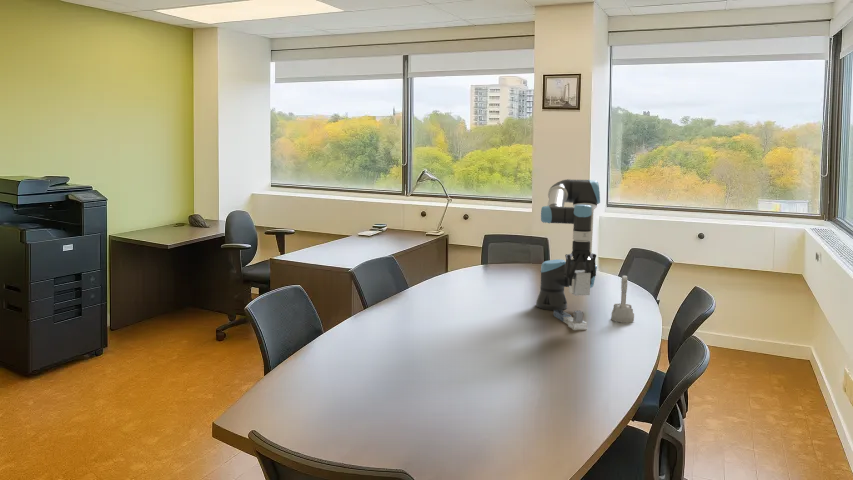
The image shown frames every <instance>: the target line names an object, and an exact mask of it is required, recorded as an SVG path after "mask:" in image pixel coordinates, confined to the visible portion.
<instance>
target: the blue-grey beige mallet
mask: <svg viewBox="0 0 853 480" xmlns="http://www.w3.org/2000/svg"><path fill="white" fill-rule="evenodd" d="M572 314H573V316H572V315H571V314H570V313H568V312H566V311H564V309H563V310H553V317H555V318H556V319H558V320H559V321H560V322H563V323H565V324H566V325H567V327H568V328H569V329H571V330H573V331H583V330H587V329H588V322H587V321H585V320H584V319H583V317H584V311H582V310H573V313H572Z"/></svg>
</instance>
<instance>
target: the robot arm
mask: <svg viewBox="0 0 853 480" xmlns="http://www.w3.org/2000/svg"><path fill="white" fill-rule="evenodd" d="M599 184H600V183H599V182H598V180H596V179H595V180H594V179H571V178H570V179H569V178H568V179H562V180H559V181H558V182H556V183H554V184H552V186H551V187H550V188H549V190H548V193H547V196H548V202H547V205H546V206H545V205H544V206H543V205H542V207H541V210H540V221H541V222H542V223H543V224H544V223H545V224H565V225H566V224H568V225H572V226H573V227H572V229H573V230H572V244H571V245H572V248H571V250H572V251H571V253H569V254H566V253H565V259H560V258H559V259H550V260H545V261H543V262H542V263H541V264H540V265H541V267H540V285H539V286H540V287H539V288H540V289H539V293H538V296H537V298H536V301H535V306H536V308H538V309H541V310H546V311H554V310H563V311H564V310H566V309H567V308H568V301H567V299H566V294H565V288H568V293H569V292H570V294H571V293H572V294H571V295H573V294H574V279H573V275H574V272H575V270H585V271H587V272H590V273H591V277H590V289H592V288H593V287H594V285H595V280H596V276H597V269H598V265H597V264H596V258H597V254H596V253H592V252H593V229H594V213H595V212H594V211H595V210H596V208H597V207H598V205H599V204H600V203H601V194H600V193H601V192H600V185H599ZM565 203H569V204H571V203H572V206H565ZM569 286H570V287H569Z"/></svg>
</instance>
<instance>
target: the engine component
mask: <svg viewBox="0 0 853 480" xmlns="http://www.w3.org/2000/svg"><path fill="white" fill-rule="evenodd" d="M620 283H621V285H620V286H621V287H620V289H621V294H620V295H621V296H620V299H621V300H620V303H614V304H613V309H612V311H611V317H610V319H611V320H612V321H614V322H617V323H625V324H626V323H633V322H634V321H635V313H634V311H633V310H634V309H633V308H632V305H631V304H630V303H629V304H628V303H627V292H628V276H627V275H622V276H621V281H620Z"/></svg>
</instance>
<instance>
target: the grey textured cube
mask: <svg viewBox="0 0 853 480" xmlns="http://www.w3.org/2000/svg"><path fill="white" fill-rule="evenodd" d="M590 277H591V273H590V272H587V271H585V270H575V272H574V275H573V279H574V294H572V293H570V292H569V291H568V293H570V294H571V295H573V296H577V297H579V296H590V292H591V288H590ZM569 287H570V286H569ZM569 287H568V288H569Z"/></svg>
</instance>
